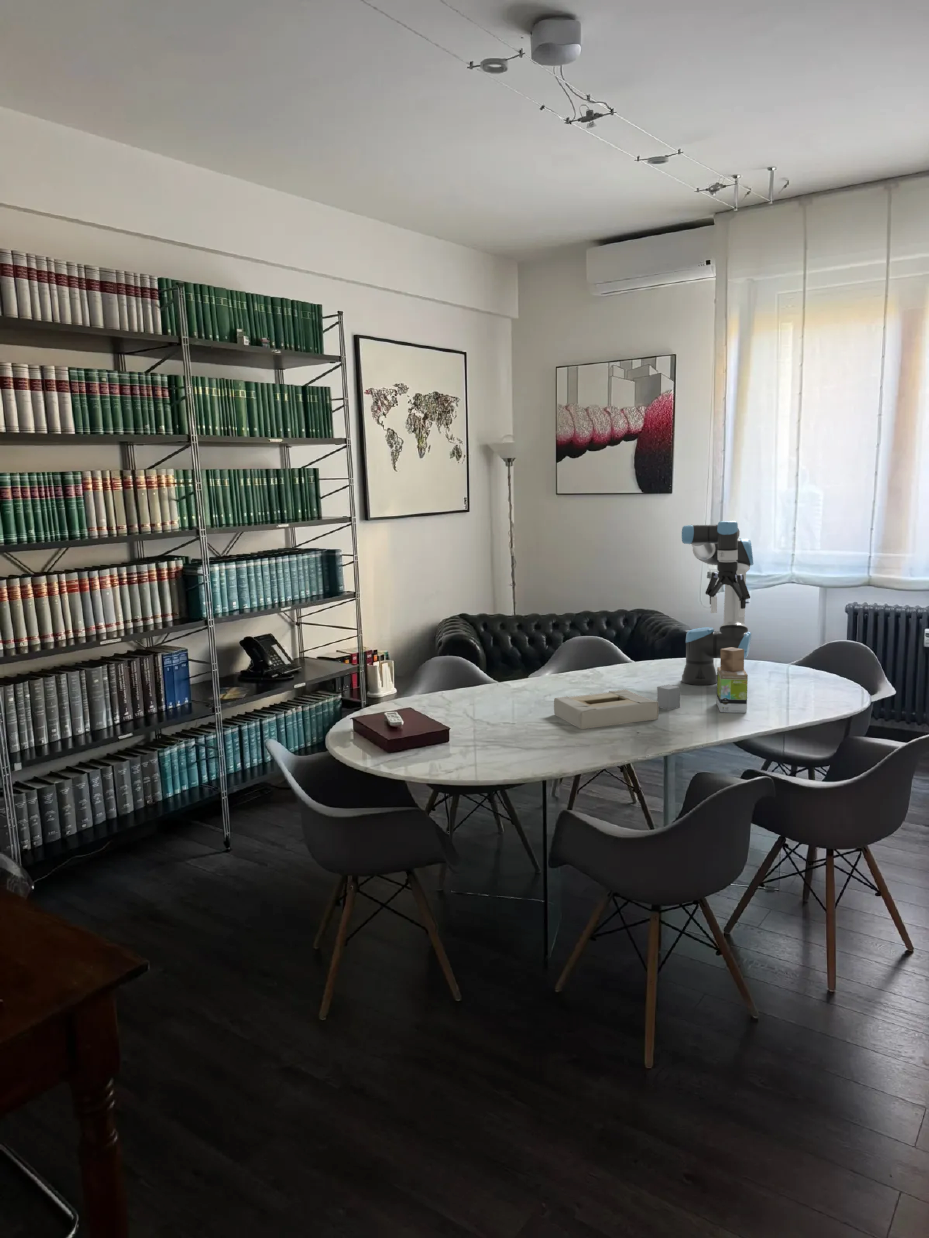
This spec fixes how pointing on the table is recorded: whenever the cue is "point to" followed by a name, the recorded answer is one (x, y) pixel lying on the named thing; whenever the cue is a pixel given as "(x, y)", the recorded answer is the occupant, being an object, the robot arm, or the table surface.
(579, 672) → the table surface
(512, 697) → the table surface
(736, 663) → the walnut block
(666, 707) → the slate block
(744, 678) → the tea box
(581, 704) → the box
